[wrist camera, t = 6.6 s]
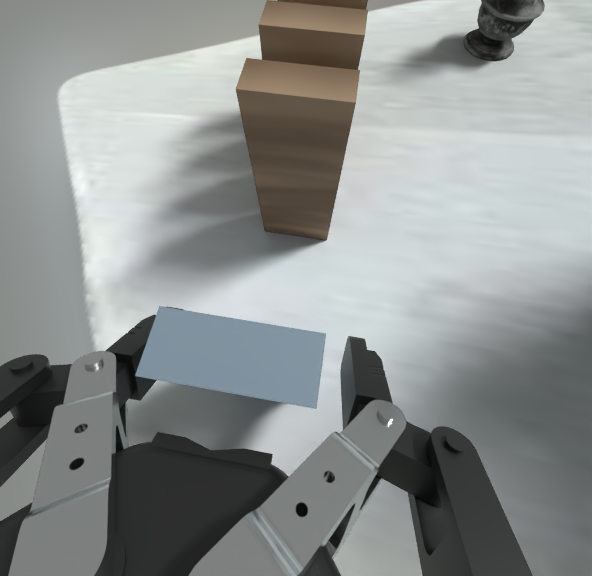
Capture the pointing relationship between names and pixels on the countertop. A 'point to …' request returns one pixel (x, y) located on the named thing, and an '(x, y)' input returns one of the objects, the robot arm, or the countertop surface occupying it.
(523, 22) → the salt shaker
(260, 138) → the domino
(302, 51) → the domino
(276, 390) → the blue domino
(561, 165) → the countertop surface
